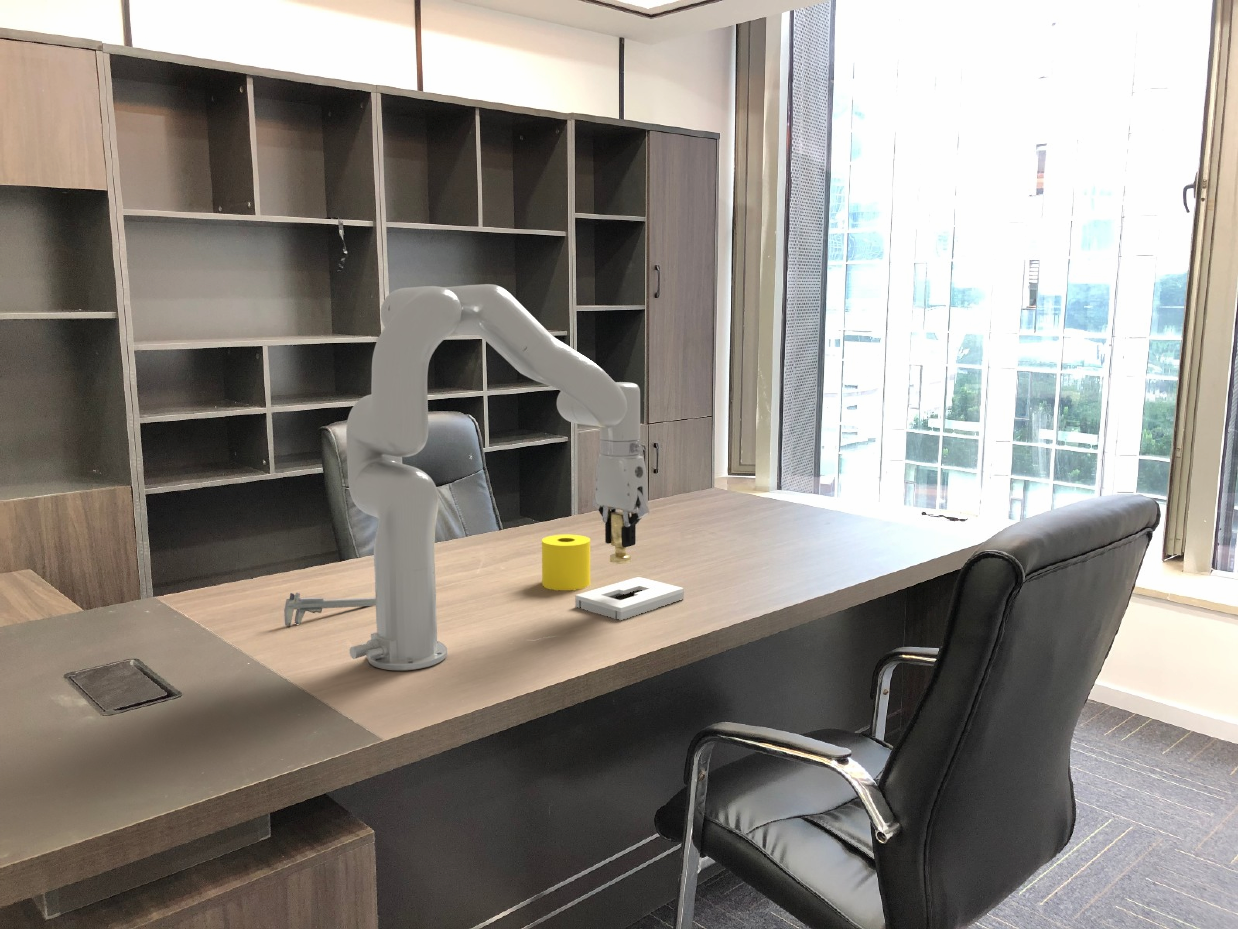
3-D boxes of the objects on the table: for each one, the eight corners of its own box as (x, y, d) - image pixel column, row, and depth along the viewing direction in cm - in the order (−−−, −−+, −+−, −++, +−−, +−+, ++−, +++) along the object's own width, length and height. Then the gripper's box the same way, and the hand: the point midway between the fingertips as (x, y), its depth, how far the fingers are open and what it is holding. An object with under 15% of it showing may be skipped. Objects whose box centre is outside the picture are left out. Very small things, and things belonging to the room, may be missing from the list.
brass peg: (621, 564, 178) (620, 516, 176) (605, 561, 181) (605, 513, 179) (635, 560, 181) (635, 513, 179) (620, 557, 183) (619, 510, 182)
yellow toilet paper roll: (560, 575, 204) (559, 532, 203) (599, 582, 199) (599, 538, 198) (532, 586, 196) (532, 541, 195) (573, 593, 191) (572, 547, 189)
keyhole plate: (621, 620, 174) (621, 608, 173) (575, 607, 182) (575, 595, 181) (683, 599, 186) (683, 588, 186) (638, 588, 195) (638, 576, 194)
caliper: (288, 629, 169) (286, 595, 168) (284, 628, 170) (283, 594, 169) (384, 604, 184) (383, 572, 183) (381, 603, 185) (380, 571, 184)
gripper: (666, 450, 174) (666, 547, 177) (602, 442, 186) (602, 534, 188) (639, 455, 169) (639, 555, 172) (574, 446, 180) (575, 540, 183)
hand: (620, 543), depth 180 cm, fingers closed on brass peg, 3 cm apart
